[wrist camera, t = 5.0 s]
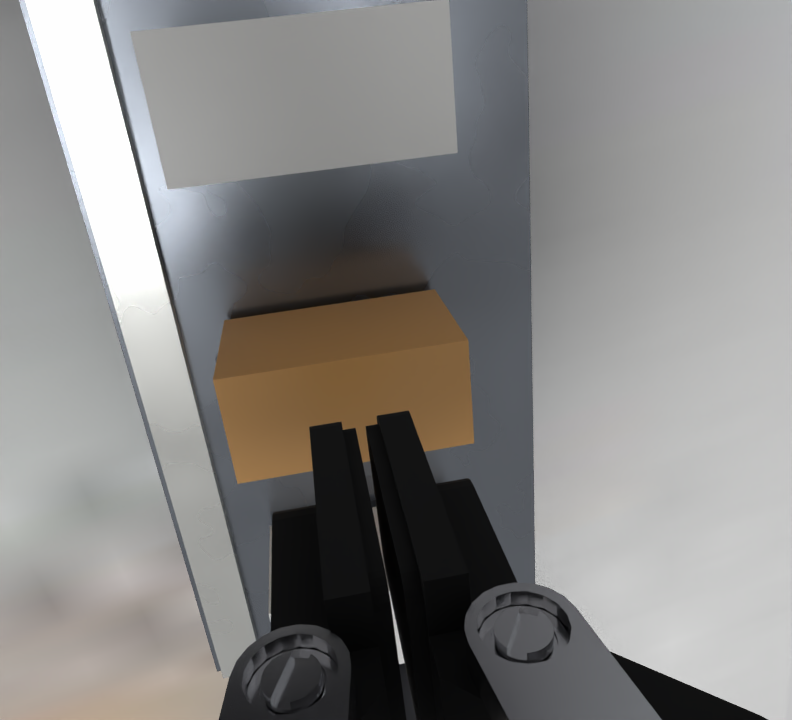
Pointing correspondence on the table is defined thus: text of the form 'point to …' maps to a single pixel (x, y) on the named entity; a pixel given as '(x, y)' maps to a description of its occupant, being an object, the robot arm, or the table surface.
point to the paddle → (299, 92)
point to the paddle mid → (340, 378)
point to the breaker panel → (297, 271)
